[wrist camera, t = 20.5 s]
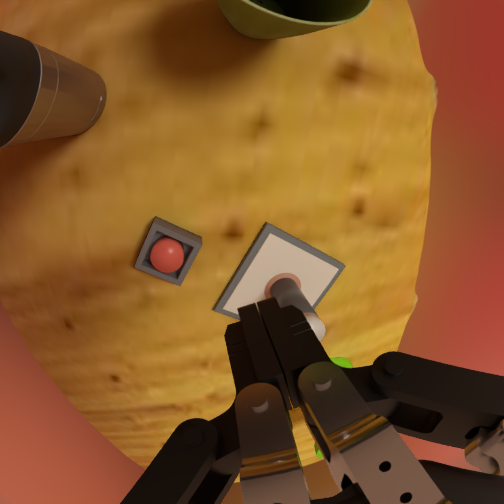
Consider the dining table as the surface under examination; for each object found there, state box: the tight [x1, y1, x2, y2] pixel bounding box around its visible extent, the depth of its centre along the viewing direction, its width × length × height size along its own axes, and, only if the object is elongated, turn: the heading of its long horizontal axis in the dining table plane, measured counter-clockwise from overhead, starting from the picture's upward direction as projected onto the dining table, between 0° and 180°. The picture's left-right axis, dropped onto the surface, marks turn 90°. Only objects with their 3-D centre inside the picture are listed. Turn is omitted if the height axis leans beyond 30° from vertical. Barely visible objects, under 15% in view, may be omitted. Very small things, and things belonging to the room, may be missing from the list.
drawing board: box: [214, 222, 345, 320], centre depth 44 cm, size 16×16×1 cm
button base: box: [135, 217, 202, 286], centre depth 36 cm, size 7×7×2 cm
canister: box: [270, 278, 326, 341], centre depth 38 cm, size 4×4×11 cm
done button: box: [150, 235, 184, 273], centre depth 36 cm, size 4×4×2 cm
